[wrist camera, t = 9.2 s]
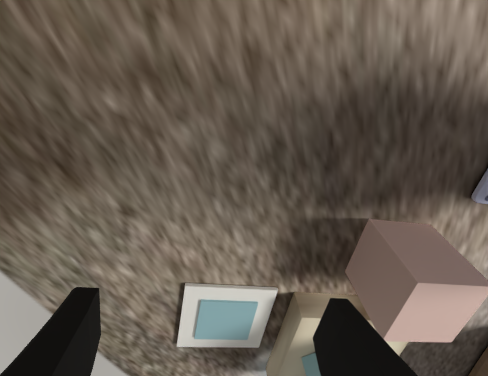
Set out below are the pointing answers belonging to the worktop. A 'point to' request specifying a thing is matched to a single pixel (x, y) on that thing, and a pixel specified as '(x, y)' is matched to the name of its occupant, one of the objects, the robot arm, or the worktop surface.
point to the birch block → (306, 332)
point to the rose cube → (414, 282)
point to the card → (224, 315)
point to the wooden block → (481, 366)
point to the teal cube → (311, 365)
